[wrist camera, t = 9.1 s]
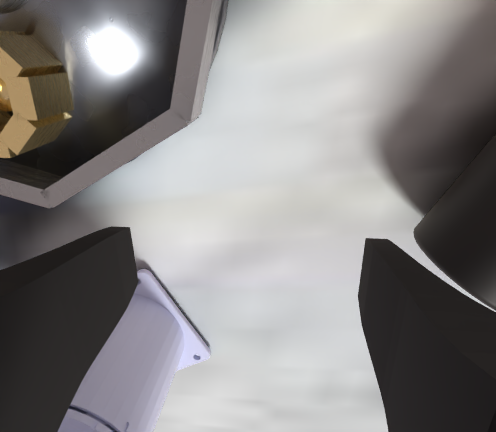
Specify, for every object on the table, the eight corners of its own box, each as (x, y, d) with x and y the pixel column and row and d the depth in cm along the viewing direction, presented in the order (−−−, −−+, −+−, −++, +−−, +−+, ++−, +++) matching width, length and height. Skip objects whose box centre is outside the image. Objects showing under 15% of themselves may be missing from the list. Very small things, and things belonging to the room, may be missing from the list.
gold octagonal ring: (38, 162, 21) (-1, 179, 18) (-47, 88, 20) (-101, 95, 17) (91, 91, 19) (57, 99, 16) (1, 5, 18) (-53, -2, 15)
